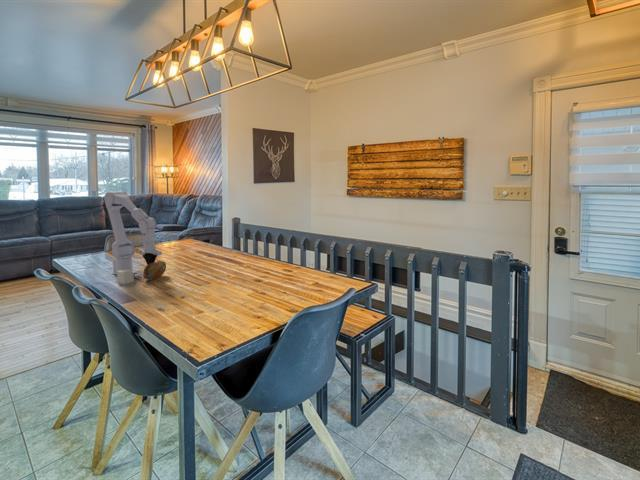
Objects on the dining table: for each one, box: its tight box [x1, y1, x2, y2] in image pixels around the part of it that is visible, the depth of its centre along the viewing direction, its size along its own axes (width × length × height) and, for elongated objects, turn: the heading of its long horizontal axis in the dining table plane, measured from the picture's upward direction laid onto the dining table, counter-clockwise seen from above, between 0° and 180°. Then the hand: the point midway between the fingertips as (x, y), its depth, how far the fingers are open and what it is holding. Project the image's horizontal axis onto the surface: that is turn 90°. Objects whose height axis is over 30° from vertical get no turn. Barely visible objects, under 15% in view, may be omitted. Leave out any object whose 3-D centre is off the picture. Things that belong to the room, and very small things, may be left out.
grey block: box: [116, 269, 135, 285], centre depth 177 cm, size 5×5×6 cm
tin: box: [142, 260, 167, 281], centre depth 184 cm, size 15×3×8 cm, turn 168°
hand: (151, 267), depth 184 cm, fingers closed
